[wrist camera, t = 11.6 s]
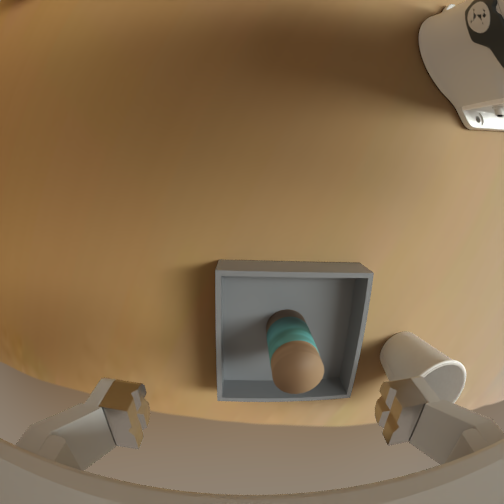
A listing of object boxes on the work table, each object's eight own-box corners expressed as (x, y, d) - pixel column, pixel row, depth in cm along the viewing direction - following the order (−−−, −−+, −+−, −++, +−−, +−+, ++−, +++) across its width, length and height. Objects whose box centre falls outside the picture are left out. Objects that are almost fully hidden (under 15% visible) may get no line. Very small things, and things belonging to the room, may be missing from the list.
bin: (359, 262, 32) (373, 273, 29) (341, 378, 36) (350, 397, 32) (218, 259, 32) (215, 270, 28) (220, 380, 35) (217, 400, 31)
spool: (307, 308, 33) (327, 350, 24) (304, 344, 34) (321, 392, 25) (266, 309, 33) (273, 352, 24) (264, 345, 34) (270, 395, 25)
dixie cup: (414, 376, 36) (448, 419, 27) (362, 378, 36) (389, 428, 26) (434, 322, 35) (477, 359, 25) (380, 320, 34) (419, 363, 24)
